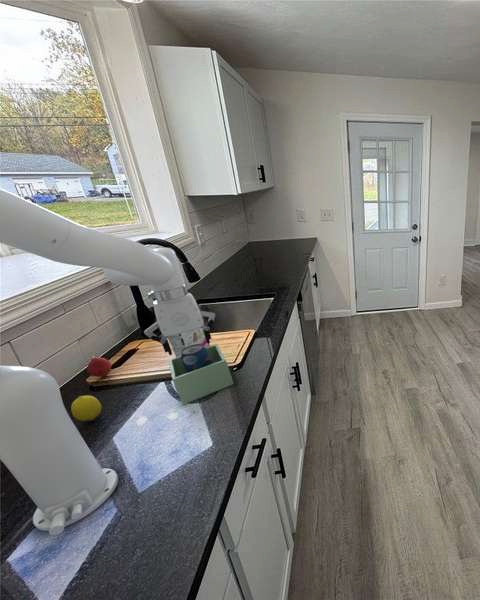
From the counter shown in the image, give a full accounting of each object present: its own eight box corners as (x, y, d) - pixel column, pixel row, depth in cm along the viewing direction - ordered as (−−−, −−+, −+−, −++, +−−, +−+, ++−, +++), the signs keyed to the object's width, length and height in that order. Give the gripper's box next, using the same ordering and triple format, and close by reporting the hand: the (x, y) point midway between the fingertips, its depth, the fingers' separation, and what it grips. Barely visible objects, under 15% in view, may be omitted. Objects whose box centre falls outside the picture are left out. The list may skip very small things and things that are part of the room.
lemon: (90, 428, 83) (76, 404, 80) (74, 426, 84) (59, 402, 81) (111, 413, 88) (99, 390, 85) (96, 411, 89) (83, 389, 86)
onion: (117, 374, 107) (107, 354, 104) (96, 383, 102) (85, 363, 99) (111, 369, 110) (101, 350, 107) (90, 378, 105) (79, 358, 102)
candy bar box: (200, 353, 116) (185, 313, 110) (213, 352, 116) (199, 312, 110) (180, 371, 106) (162, 328, 100) (194, 370, 106) (178, 327, 99)
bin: (233, 384, 97) (225, 360, 94) (182, 404, 90) (172, 379, 86) (224, 365, 107) (216, 343, 104) (177, 383, 100) (168, 359, 96)
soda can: (205, 389, 94) (192, 355, 90) (186, 387, 96) (172, 354, 91) (221, 375, 101) (210, 343, 96) (204, 374, 102) (192, 342, 97)
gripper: (131, 305, 79) (154, 363, 85) (208, 288, 89) (224, 341, 95) (132, 298, 84) (153, 353, 91) (204, 283, 94) (219, 333, 100)
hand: (189, 347), depth 93 cm, fingers open, 9 cm apart
